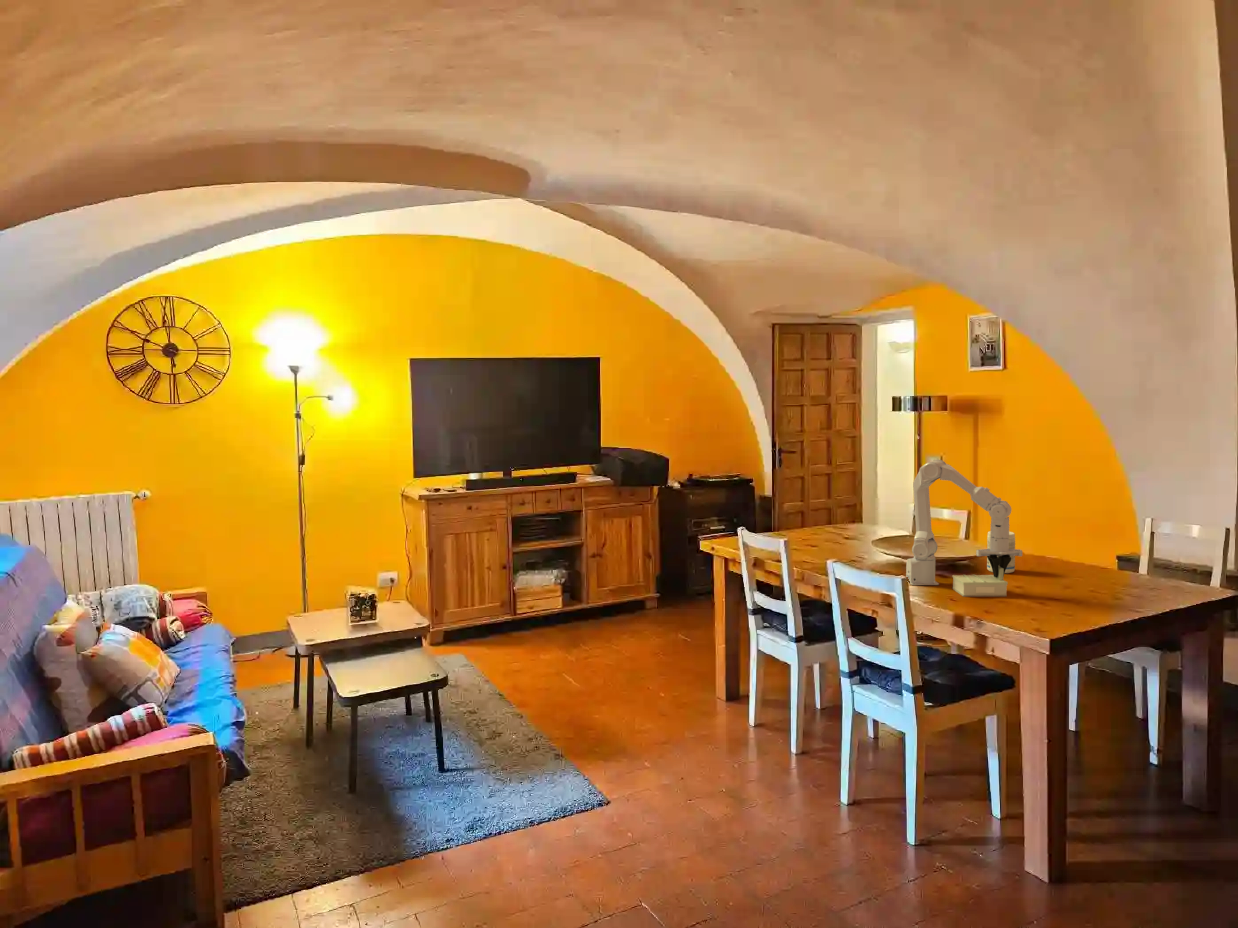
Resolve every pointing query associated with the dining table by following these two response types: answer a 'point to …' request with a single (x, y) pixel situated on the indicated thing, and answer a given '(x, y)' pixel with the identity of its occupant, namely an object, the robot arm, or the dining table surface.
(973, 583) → the lid
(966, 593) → the block
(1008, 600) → the dining table surface
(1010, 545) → the supplement tub
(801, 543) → the dining table surface
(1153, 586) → the dining table surface
